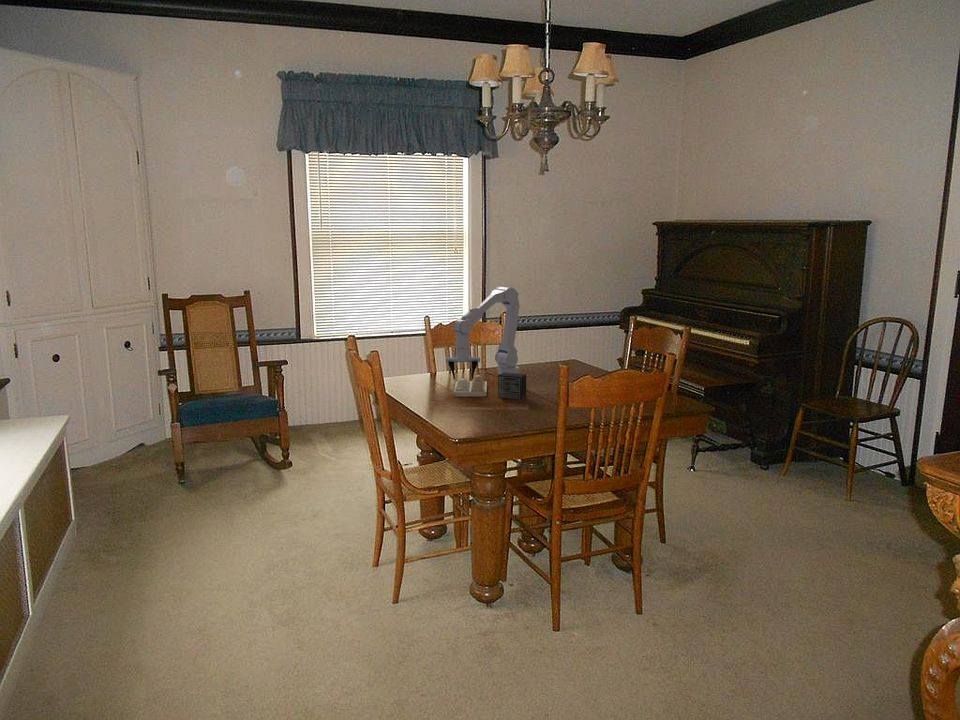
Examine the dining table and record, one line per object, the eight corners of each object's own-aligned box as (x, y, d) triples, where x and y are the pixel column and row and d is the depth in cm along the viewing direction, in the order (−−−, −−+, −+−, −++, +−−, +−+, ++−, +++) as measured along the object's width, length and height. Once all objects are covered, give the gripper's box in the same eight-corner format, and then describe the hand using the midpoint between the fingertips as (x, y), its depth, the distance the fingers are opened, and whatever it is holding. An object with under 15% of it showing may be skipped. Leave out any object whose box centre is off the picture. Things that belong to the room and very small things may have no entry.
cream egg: (468, 389, 309) (468, 377, 308) (468, 391, 305) (468, 379, 304) (458, 389, 309) (458, 377, 308) (458, 391, 304) (458, 379, 303)
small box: (527, 398, 297) (527, 373, 295) (521, 402, 291) (521, 376, 289) (503, 396, 301) (503, 371, 299) (497, 399, 295) (497, 374, 293)
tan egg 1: (483, 385, 315) (483, 374, 314) (483, 388, 311) (483, 376, 310) (473, 386, 315) (473, 374, 314) (473, 388, 311) (473, 376, 310)
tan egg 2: (483, 392, 302) (482, 380, 301) (482, 395, 298) (482, 382, 297) (473, 393, 302) (472, 380, 301) (472, 395, 298) (472, 382, 297)
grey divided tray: (486, 387, 316) (486, 381, 316) (486, 398, 297) (486, 391, 296) (456, 387, 317) (455, 381, 316) (453, 398, 297) (453, 392, 297)
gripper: (479, 345, 307) (479, 376, 310) (445, 346, 307) (446, 377, 309) (480, 348, 300) (480, 380, 303) (445, 349, 300) (446, 380, 302)
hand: (463, 378), depth 306 cm, fingers open, 7 cm apart
